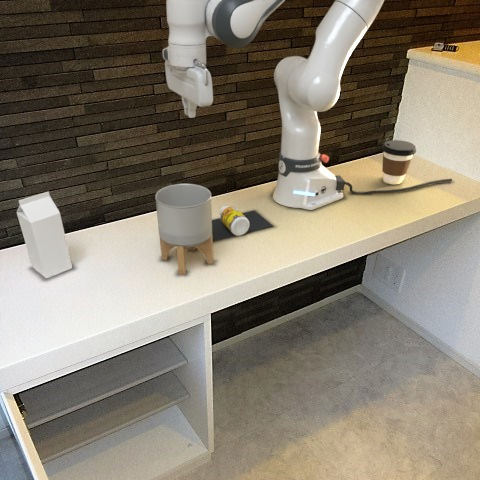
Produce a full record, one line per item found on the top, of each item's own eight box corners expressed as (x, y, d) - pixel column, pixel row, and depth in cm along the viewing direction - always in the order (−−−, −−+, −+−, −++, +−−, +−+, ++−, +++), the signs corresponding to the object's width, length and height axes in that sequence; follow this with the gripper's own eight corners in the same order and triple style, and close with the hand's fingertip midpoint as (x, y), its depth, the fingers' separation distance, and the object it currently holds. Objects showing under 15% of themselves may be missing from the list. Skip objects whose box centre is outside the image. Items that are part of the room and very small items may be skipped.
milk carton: (72, 268, 123) (56, 196, 111) (46, 279, 119) (26, 205, 107) (58, 257, 127) (41, 186, 115) (32, 267, 123) (11, 195, 111)
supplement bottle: (228, 233, 134) (213, 218, 141) (244, 238, 137) (229, 223, 145) (237, 215, 132) (221, 200, 139) (253, 220, 135) (237, 205, 142)
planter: (155, 272, 122) (148, 204, 111) (168, 246, 132) (163, 181, 121) (207, 276, 121) (205, 209, 110) (217, 249, 131) (215, 185, 120)
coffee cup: (378, 186, 164) (385, 150, 157) (373, 174, 173) (379, 139, 165) (412, 187, 164) (420, 151, 157) (404, 174, 173) (412, 139, 165)
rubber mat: (254, 211, 149) (254, 210, 149) (273, 226, 142) (273, 225, 141) (192, 225, 142) (192, 224, 141) (209, 242, 134) (209, 241, 134)
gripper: (219, 63, 113) (219, 125, 122) (182, 47, 127) (185, 104, 136) (194, 65, 111) (196, 129, 119) (159, 49, 125) (163, 107, 133)
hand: (190, 116), depth 128 cm, fingers closed
